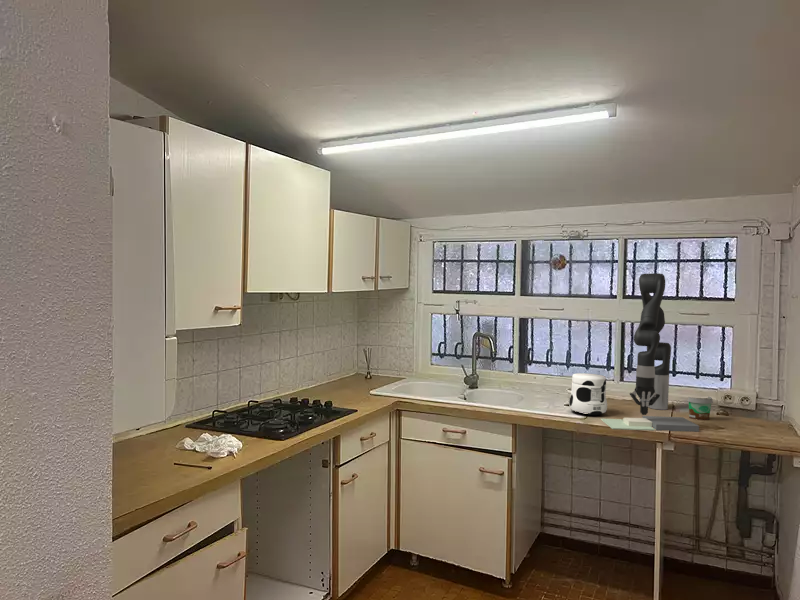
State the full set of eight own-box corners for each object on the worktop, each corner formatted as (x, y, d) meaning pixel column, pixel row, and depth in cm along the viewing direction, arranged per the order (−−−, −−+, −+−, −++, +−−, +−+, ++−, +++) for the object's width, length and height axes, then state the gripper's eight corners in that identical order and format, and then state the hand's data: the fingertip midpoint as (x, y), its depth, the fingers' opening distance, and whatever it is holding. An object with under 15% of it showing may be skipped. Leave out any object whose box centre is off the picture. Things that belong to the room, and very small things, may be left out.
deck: (642, 421, 270) (642, 415, 270) (682, 422, 269) (682, 417, 269) (656, 430, 254) (656, 424, 254) (698, 431, 253) (699, 426, 253)
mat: (600, 419, 271) (600, 418, 271) (640, 421, 270) (640, 419, 270) (612, 429, 254) (612, 427, 254) (655, 430, 253) (655, 429, 253)
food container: (696, 421, 273) (697, 399, 273) (686, 418, 279) (687, 396, 278) (718, 420, 276) (719, 398, 276) (708, 417, 282) (709, 396, 282)
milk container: (578, 407, 296) (579, 371, 295) (612, 413, 284) (613, 376, 284) (562, 413, 283) (563, 375, 282) (598, 419, 271) (599, 380, 271)
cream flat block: (623, 422, 265) (623, 417, 265) (646, 422, 265) (646, 418, 265) (628, 425, 258) (629, 421, 258) (652, 426, 258) (652, 422, 258)
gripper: (657, 374, 265) (655, 413, 265) (627, 373, 265) (625, 412, 266) (664, 377, 257) (662, 417, 258) (633, 376, 258) (631, 416, 258)
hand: (643, 414), depth 262 cm, fingers closed
